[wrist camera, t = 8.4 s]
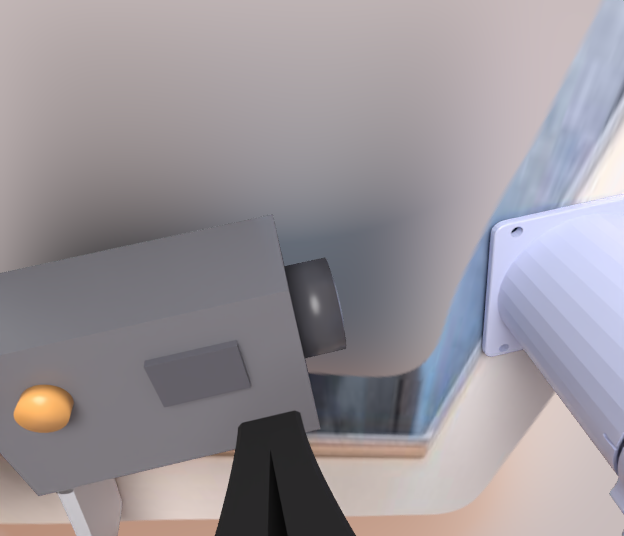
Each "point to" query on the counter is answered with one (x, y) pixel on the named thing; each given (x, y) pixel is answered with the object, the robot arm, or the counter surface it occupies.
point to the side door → (93, 508)
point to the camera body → (157, 352)
